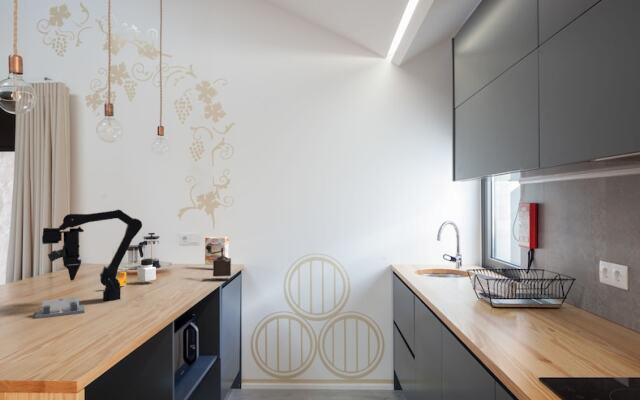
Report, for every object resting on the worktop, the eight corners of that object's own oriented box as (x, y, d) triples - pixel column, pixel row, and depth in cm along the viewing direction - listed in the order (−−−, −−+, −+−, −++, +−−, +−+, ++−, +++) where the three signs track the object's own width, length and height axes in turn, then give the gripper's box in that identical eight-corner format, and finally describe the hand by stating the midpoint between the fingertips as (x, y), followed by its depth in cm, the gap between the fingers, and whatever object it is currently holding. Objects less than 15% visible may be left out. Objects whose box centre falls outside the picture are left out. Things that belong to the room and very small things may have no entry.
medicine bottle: (156, 279, 225) (156, 258, 225) (144, 281, 219) (144, 260, 219) (148, 278, 229) (148, 257, 229) (137, 280, 223) (137, 259, 223)
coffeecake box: (204, 265, 278) (204, 237, 278) (209, 263, 285) (209, 236, 285) (224, 265, 276) (224, 237, 276) (228, 264, 283) (228, 236, 283)
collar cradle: (84, 307, 166) (84, 298, 166) (84, 312, 157) (84, 303, 157) (37, 312, 158) (37, 303, 158) (35, 318, 149) (35, 309, 149)
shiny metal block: (77, 306, 163) (77, 296, 163) (78, 308, 159) (78, 298, 159) (42, 311, 155) (42, 300, 155) (42, 313, 152) (42, 302, 152)
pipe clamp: (118, 283, 214) (118, 272, 214) (126, 284, 214) (126, 272, 214) (105, 288, 202) (105, 276, 202) (113, 288, 202) (113, 276, 202)
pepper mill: (231, 272, 247) (231, 244, 247) (230, 276, 236) (230, 246, 236) (205, 273, 244) (205, 244, 244) (203, 276, 233) (203, 246, 234)
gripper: (49, 242, 175) (49, 277, 175) (48, 246, 159) (49, 284, 159) (78, 240, 181) (78, 274, 181) (81, 244, 165) (81, 281, 165)
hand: (71, 278), depth 171 cm, fingers open, 9 cm apart
